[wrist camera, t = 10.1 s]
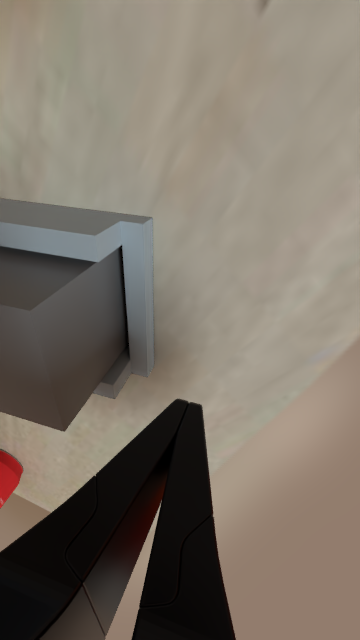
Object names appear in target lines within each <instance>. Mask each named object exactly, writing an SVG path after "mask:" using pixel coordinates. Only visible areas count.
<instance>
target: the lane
mask: <svg viewBox="0 0 360 640" xmlns="http://www.w3.org/2000/svg"><path fill="white" fill-rule="evenodd" d="M121 245H122V250H123V264H124V278H125V292H126V307H127V321H128V335H129V347H128V346H126V347H125V349H124V350H123V352H122V353H121V354H120V356H119V357H118V358H117V360H116V361H115V363H114V364H113V365H112V367H111V368H110V370H109V371H108V372H107V374H106V375H105V376H104V378H103V379H102V381H101V382H100V383H99V385H98V386H97V388H96V389H95V390H94V392H93V393H94V394H98V395H101V396H105V397H109V398H112V399H115V398H116V397H117V395H118V394H119V392H120V390H121V389H122V387H123V386H124V384H125V382H126V381H127V379H128V378H129V376H130V374H131V373H133V374H137V375H141V376H145V377H148V376H149V374H150V372H151V370H152V369H153V367H154V314H153V233H152V218H151V217H143V216H135V215H127V214H119V213H111V212H104V211H96V210H88V209H80V208H72V207H64V206H56V205H48V204H40V203H32V202H24V201H16V200H8V199H0V246H4V247H10V248H16V249H22V250H28V251H34V252H40V253H46V254H52V255H58V256H64V257H70V258H76V259H82V260H88V261H93V262H99V261H101V260H102V259H104V258H105V257H106V256H108V255H109V254H110V253H112V252H113V251H114V250H116V249H117V248H118V247H120V246H121Z"/></svg>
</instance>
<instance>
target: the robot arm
mask: <svg viewBox="0 0 360 640" xmlns="http://www.w3.org/2000/svg"><path fill="white" fill-rule="evenodd" d="M161 501H162V502H161ZM160 503H161V507H160V512H159V516H158V521H157V526H156V530H155V535H154V540H153V544H152V549H151V554H150V558H149V563H148V568H147V573H146V577H145V582H144V586H143V591H142V596H141V600H140V605H139V607H140V609H139V610H138V614H137V619H136V623H135V628H134V632H133V636H132V640H236V638H235V633H234V630H233V624H232V620H231V615H230V610H229V606H228V601H227V597H226V592H225V587H224V583H223V577H222V572H221V567H220V562H219V557H218V549H217V541H216V534H215V526H214V525H215V524H214V517H213V506H212V497H211V487H210V477H209V468H208V458H207V448H206V439H205V429H204V419H203V410H202V405H200V404H197V403H193V402H190V403H189V402H188V401H185V400H182V399H176V400H175V401H173V402H172V403H171V404H170V405H169V406H168V407H167V408H166V409H165V410H164V411H163V412H162V413H161V414H160V415H158V416H157V417H156V418H155V419H154V420H153V421H152V422H151V423H150V424H149V425H148V426H147V427H146V428H145V429H144V430H142V431H141V432H140V433H139V434H138V435H137V436H136V437H135V438H134V439H133V440H132V441H131V442H130V443H129V444H128V445H126V446H125V447H124V448H123V449H122V450H121V451H120V452H119V453H118V454H117V455H116V456H115V457H114V458H113V459H112V460H110V461H109V462H108V463H107V464H106V465H105V466H104V467H103V468H102V469H101V470H100V471H99V472H98V473H97V474H96V476H93V477H92V478H91V479H90V480H89V481H88V482H87V483H86V484H85V485H84V486H83V487H81V488H80V489H79V490H78V491H77V492H76V493H75V494H74V495H72V496H71V497H70V498H69V499H68V500H67V501H65V502H64V503H63V504H62V505H60V506H59V507H58V508H57V509H55V510H54V511H53V512H52V513H50V514H49V515H48V516H47V517H45V518H44V519H43V520H41V521H40V522H39V523H38V524H36V525H35V526H34V527H32V528H31V529H30V530H28V531H27V532H26V533H25V534H23V535H22V536H21V537H19V538H18V539H17V540H15V541H14V542H13V543H11V544H10V545H9V546H8V547H6V548H5V549H4V550H2V551H1V552H0V640H105V636H106V635H107V633H108V630H109V628H110V625H111V623H112V621H113V618H114V616H115V613H116V611H117V608H118V606H119V604H120V601H121V598H122V596H123V593H124V591H125V589H126V586H127V584H128V582H129V579H130V577H131V574H132V572H133V569H134V567H135V564H136V562H137V560H138V557H139V555H140V552H141V550H142V547H143V545H144V542H145V540H146V538H147V535H148V533H149V530H150V528H151V525H152V523H153V520H154V518H155V516H156V513H157V511H158V508H159V506H160Z"/></svg>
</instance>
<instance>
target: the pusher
mask: <svg viewBox="0 0 360 640" xmlns="http://www.w3.org/2000/svg"><path fill="white" fill-rule="evenodd" d="M127 345H128V341H127V327H126V314H125V300H124V287H123V274H122V260H121V247H118V248H117V249H116V250H114V251H113V252H112V253H110V254H109V255H108V256H106V257H105V258H104V259H102V260H101V261H99V262H93V261H88V260H82V259H76V258H70V257H64V256H58V255H52V254H46V253H40V252H34V251H28V250H22V249H16V248H10V247H4V246H0V412H3V413H6V414H9V415H13V416H16V417H19V418H22V419H25V420H28V421H32V422H35V423H38V424H41V425H44V426H48V427H51V428H54V429H57V430H60V431H64V432H65V430H66V429H67V428H68V426H69V425H70V424H71V422H72V421H73V419H74V418H75V417H76V415H77V414H78V412H79V411H80V410H81V408H82V407H83V406H84V404H85V403H86V401H87V400H88V399H89V397H90V396H91V394H92V393H93V392H94V390H95V389H96V388H97V386H98V385H99V383H100V382H101V381H102V379H103V378H104V376H105V375H106V374H107V372H108V371H109V370H110V368H111V367H112V365H113V364H114V363H115V361H116V360H117V358H118V357H119V356H120V354H121V353H122V352H123V350H124V349H125V347H126V346H127Z"/></svg>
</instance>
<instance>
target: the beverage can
mask: <svg viewBox="0 0 360 640" xmlns="http://www.w3.org/2000/svg"><path fill="white" fill-rule="evenodd" d="M22 473H23V467H22V465H21V464H20V463H19V461H18V460H17V459H15V458H14V457H13V456H12V455H10V454H9V453H7V452H5V451H3V450H1V449H0V508H1V507H2V506H3V504H4V503H5V502H6V500H7V499H8V498H9V496H10V495H11V494H12V492H13V491H14V490H15V488H16V487H17V486H18V484H19V481H20V477H21V474H22Z"/></svg>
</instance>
